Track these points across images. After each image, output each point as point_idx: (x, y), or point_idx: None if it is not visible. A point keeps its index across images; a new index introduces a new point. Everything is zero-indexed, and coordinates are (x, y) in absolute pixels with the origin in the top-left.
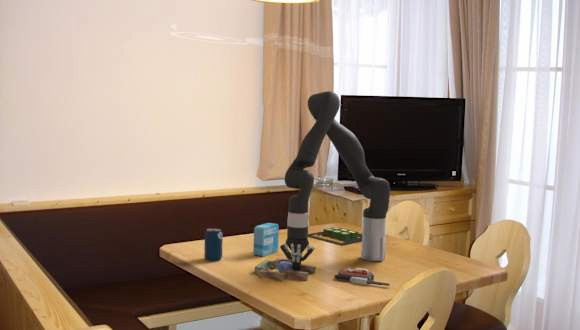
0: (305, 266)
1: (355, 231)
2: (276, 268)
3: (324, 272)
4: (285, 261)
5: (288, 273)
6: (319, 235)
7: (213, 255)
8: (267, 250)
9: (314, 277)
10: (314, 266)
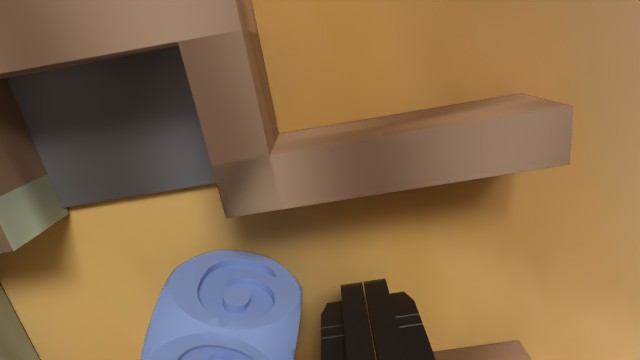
0: (421, 182)
1: None
2: (66, 213)
3: (618, 21)
4: (183, 354)
5: None
6: None
7: None
8: None
9: (555, 260)
10: (555, 149)
